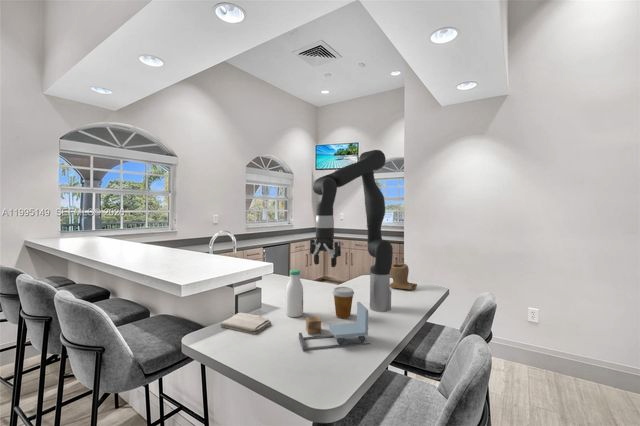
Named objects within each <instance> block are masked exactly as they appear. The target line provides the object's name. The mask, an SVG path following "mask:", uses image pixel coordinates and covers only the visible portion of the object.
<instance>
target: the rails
mask: <svg viewBox="0 0 640 426" xmlns="http://www.w3.org/2000/svg"><path fill="white" fill-rule="evenodd" d="M325 338H326V339H327V338H335V337H334V335H333V334H327V335H326V334H325V335H324V334H323V335H315V336H313V335H312V336H303V333H302V332H298V340H299V343H300V347H301V349H302V352H306V351H311V350H321V349H333V348H341V347H352V346H363V345H371V341H365V342H363V343H362V342H360V341H359V342H352V343H343V344H341V345H340V344H331V345H330V344H327V345H321V346H309V347H307V345H306V342H305V340H313V339H314V340H315V339H316V340H317V339H325Z"/></svg>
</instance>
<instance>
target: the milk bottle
mask: <svg viewBox="0 0 640 426" xmlns="http://www.w3.org/2000/svg"><path fill="white" fill-rule="evenodd" d="M300 275H301V271H300V269H290V270H289V281H288V283H287V285H286V290H285V293H286V294H285V314H286V316H287V317H289V318H299V317H302V316H303V315H304V287H303V284H302V280H301V278H300Z"/></svg>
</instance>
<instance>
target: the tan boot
mask: <svg viewBox="0 0 640 426" xmlns="http://www.w3.org/2000/svg"><path fill="white" fill-rule="evenodd" d="M390 276H391V278H392V282H390V288H392V289H400V290H407V291H408V290H409V291H414V290H416V288H417V287H418V284H417V283H412V282H409V281H408V278H409V266H408V264H407V263H405V262H404V263H403V262H401V263H392V267H391V269H390Z"/></svg>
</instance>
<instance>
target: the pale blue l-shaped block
mask: <svg viewBox="0 0 640 426" xmlns="http://www.w3.org/2000/svg"><path fill="white" fill-rule="evenodd" d="M356 305H357V306H356V322H347V323H335V324H329V325H328V327H329V330H330V333H331V335H334V337H333V338H335V339H336V342H337V345H339V344H340V345H341V344H345V343H344V342H345V340H344V338H345V339H346V338H353V337H354V338H355V337H356V338H358V341H359V343H360V342H362V343H363V342H366V339H367V338H366V337H367V336H369V309H368V308H366V306H365V305H364V304H363V303H362V302H361V301H357V302H356Z"/></svg>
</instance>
